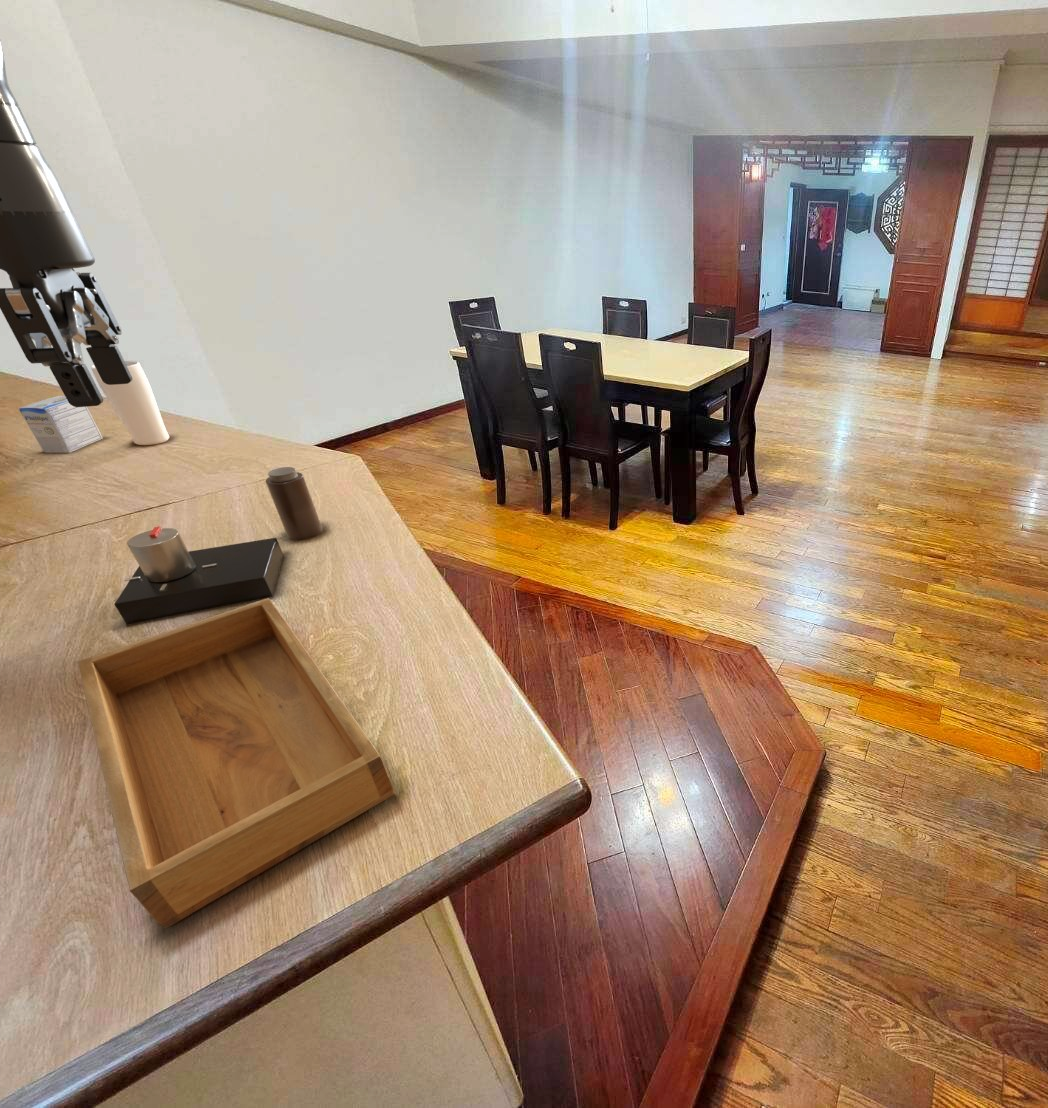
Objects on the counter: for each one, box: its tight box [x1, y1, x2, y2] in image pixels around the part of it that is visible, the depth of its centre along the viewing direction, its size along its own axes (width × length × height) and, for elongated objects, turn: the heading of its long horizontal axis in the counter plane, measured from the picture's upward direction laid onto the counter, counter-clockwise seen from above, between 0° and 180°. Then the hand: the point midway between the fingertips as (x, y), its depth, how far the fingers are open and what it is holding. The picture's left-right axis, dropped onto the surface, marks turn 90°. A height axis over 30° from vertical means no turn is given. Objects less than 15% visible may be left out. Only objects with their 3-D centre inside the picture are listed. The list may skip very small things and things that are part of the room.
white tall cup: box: [90, 360, 170, 446], centre depth 113 cm, size 7×7×15 cm
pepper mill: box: [265, 466, 324, 541], centre depth 85 cm, size 4×4×10 cm
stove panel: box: [114, 537, 285, 625], centre depth 74 cm, size 14×11×3 cm
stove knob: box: [126, 525, 196, 582], centre depth 71 cm, size 5×5×5 cm
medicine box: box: [18, 395, 104, 454], centre depth 111 cm, size 8×4×9 cm, turn 6°
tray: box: [77, 597, 395, 929], centre depth 52 cm, size 31×15×6 cm, turn 48°
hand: (105, 393), depth 59 cm, fingers open, 8 cm apart
